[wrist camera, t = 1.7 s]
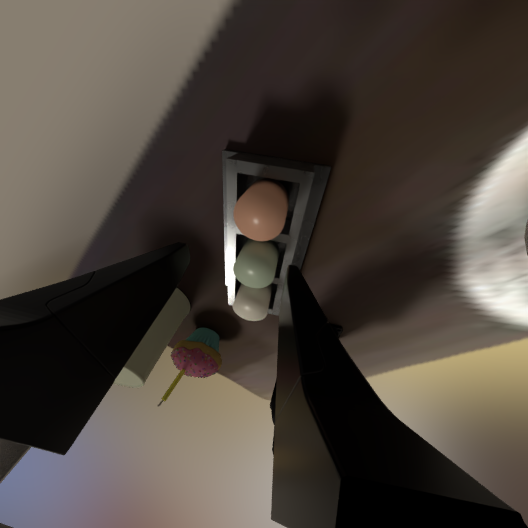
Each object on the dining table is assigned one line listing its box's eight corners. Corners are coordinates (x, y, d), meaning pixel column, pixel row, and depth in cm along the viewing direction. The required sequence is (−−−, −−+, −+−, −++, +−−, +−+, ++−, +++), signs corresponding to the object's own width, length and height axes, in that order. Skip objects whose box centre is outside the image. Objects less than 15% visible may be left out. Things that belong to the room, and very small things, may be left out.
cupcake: (185, 337, 38) (145, 408, 28) (187, 314, 33) (139, 392, 23) (225, 351, 38) (198, 426, 29) (234, 331, 33) (205, 414, 24)
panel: (330, 165, 15) (335, 176, 12) (291, 295, 25) (289, 318, 22) (225, 149, 16) (207, 155, 13) (227, 281, 26) (217, 301, 23)
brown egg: (293, 182, 14) (289, 196, 12) (284, 224, 17) (280, 245, 14) (247, 174, 15) (233, 186, 12) (245, 217, 17) (233, 236, 14)
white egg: (274, 277, 20) (269, 302, 18) (270, 299, 23) (265, 323, 20) (242, 271, 21) (232, 294, 18) (241, 293, 23) (232, 316, 20)
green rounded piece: (282, 238, 17) (277, 260, 15) (276, 268, 20) (271, 291, 17) (244, 231, 18) (233, 251, 15) (243, 261, 20) (232, 283, 17)
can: (128, 274, 29) (41, 347, 20) (183, 282, 28) (119, 364, 18) (149, 312, 35) (90, 383, 25) (196, 320, 33) (152, 398, 24)
